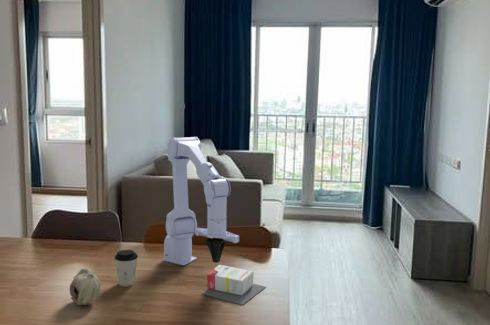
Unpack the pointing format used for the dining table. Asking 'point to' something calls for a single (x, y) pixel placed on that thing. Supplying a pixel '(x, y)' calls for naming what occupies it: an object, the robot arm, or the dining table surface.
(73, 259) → the dining table surface
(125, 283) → the coffee cup
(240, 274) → the ink box
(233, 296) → the mat
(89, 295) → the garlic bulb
